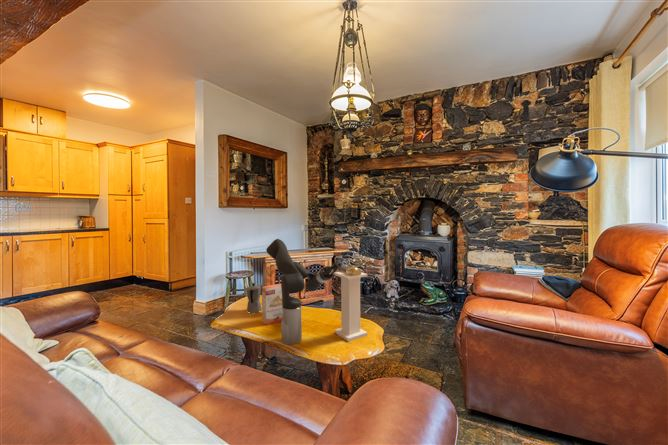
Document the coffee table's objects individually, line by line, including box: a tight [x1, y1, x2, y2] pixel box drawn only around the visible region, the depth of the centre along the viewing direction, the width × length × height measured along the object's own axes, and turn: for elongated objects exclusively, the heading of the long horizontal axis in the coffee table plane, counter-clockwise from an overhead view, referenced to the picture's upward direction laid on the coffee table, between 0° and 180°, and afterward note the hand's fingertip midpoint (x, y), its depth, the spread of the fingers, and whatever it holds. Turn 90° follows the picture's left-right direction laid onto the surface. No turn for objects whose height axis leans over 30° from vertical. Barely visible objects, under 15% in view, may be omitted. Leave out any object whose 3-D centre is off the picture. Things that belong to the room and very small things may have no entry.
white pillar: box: [334, 271, 368, 343], centre depth 148 cm, size 12×12×32 cm
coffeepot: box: [245, 282, 262, 314], centre depth 181 cm, size 15×9×18 cm, turn 6°
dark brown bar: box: [336, 265, 362, 276], centre depth 151 cm, size 5×20×3 cm, turn 33°
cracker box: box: [261, 282, 283, 326], centre depth 166 cm, size 14×6×21 cm, turn 126°
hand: (339, 264), depth 156 cm, fingers closed on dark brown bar, 2 cm apart
